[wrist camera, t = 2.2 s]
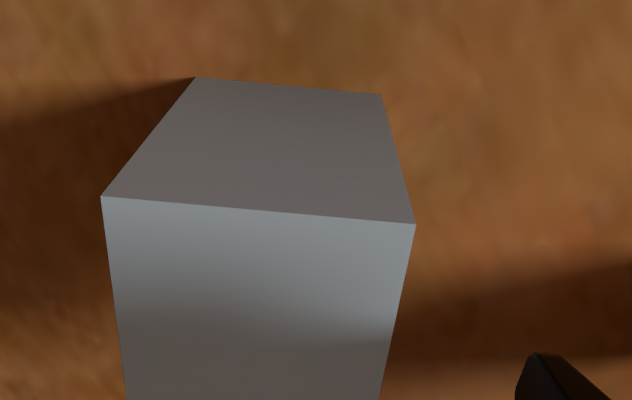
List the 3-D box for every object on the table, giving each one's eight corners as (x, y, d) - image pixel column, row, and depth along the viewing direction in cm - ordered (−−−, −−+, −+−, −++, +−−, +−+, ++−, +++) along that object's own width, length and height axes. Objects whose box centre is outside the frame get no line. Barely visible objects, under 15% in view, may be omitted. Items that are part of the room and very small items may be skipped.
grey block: (199, 232, 15) (127, 410, 10) (196, 76, 13) (100, 195, 7) (357, 246, 15) (371, 429, 10) (381, 94, 13) (415, 224, 7)
